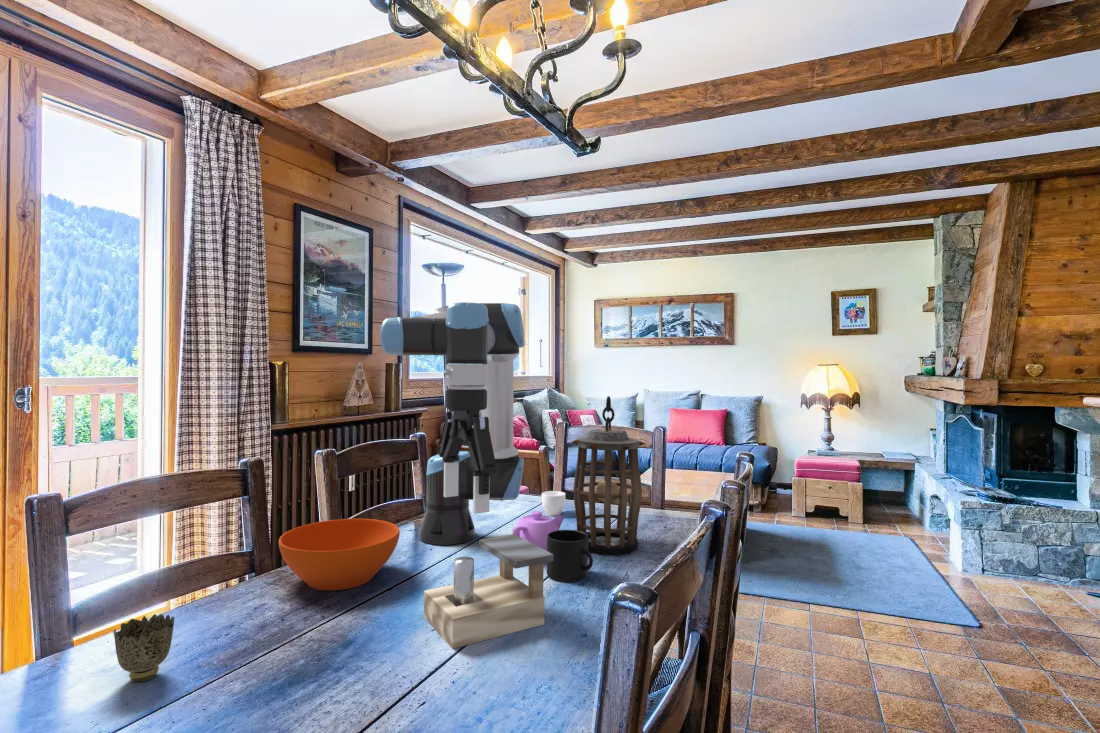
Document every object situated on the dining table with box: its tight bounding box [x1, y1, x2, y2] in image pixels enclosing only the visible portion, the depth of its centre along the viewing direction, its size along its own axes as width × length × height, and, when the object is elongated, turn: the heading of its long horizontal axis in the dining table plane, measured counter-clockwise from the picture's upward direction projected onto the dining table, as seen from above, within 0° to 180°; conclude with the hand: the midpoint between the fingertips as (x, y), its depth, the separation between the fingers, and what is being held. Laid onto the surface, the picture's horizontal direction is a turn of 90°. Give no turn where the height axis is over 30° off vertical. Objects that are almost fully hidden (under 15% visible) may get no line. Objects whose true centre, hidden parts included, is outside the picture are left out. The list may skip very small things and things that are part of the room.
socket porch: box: [423, 533, 554, 650], centre depth 106 cm, size 15×20×13 cm
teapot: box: [511, 510, 564, 551], centre depth 145 cm, size 14×20×11 cm
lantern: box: [571, 395, 646, 557], centre depth 152 cm, size 19×19×40 cm
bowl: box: [278, 518, 401, 591], centre depth 126 cm, size 25×25×10 cm
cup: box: [541, 490, 566, 517], centre depth 185 cm, size 8×10×7 cm
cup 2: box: [113, 613, 175, 683], centre depth 85 cm, size 8×7×8 cm
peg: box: [453, 556, 475, 607], centre depth 104 cm, size 4×4×12 cm
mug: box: [546, 529, 594, 583], centre depth 129 cm, size 9×12×9 cm
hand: (465, 504), depth 104 cm, fingers open, 13 cm apart
